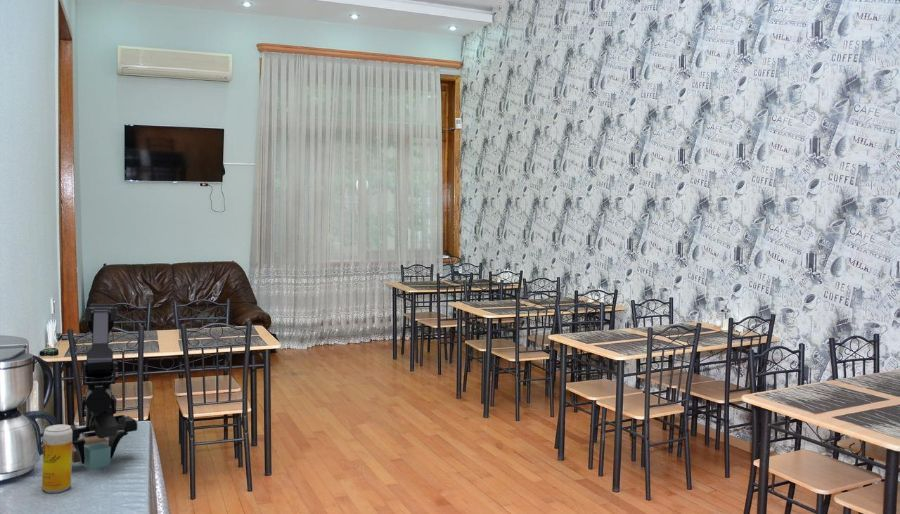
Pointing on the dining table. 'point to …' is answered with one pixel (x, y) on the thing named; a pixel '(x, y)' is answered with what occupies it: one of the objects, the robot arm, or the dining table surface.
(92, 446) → the block
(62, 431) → the beer can
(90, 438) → the walnut base
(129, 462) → the dining table surface
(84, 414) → the robot arm
